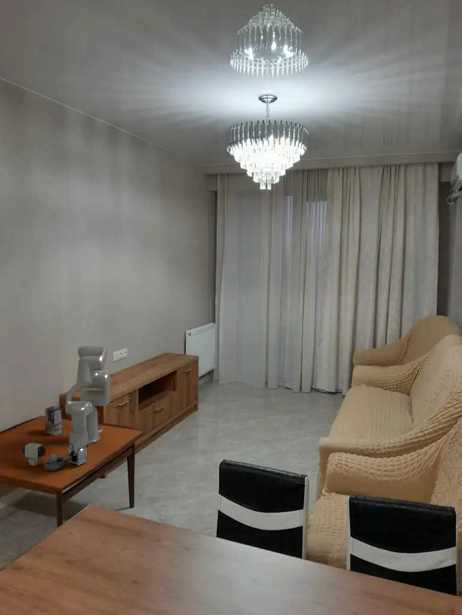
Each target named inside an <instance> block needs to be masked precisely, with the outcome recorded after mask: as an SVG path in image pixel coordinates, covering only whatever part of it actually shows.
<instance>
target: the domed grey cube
mask: <svg viewBox="0 0 462 615" xmlns="http://www.w3.org/2000/svg"><path fill="white" fill-rule="evenodd" d="M87 449H88V448H87ZM87 449H85V448H84V447H83V448H80V449H78V450H77V452H76V455H77V462H73V461H72V455H71V461H70V463H71V464H74V465H77V466H80V465H82V464H84V463H86V462H87V461H88V450H87ZM73 453H74V451H73Z"/></svg>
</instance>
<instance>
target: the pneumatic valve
mask: <svg viewBox="0 0 462 615" xmlns="http://www.w3.org/2000/svg"><path fill="white" fill-rule="evenodd" d="M21 452H22V454H23V457H24V458H28V465H29V466H36V465H39V464H40V459H41V458H42V457H44V456H45V455H46V453H47V450H46V447H45V445H44V444H43V443H39V442H38V443H37V442H36V443H35V442H28V443H27V444H25V445H23V447H22V448H21Z"/></svg>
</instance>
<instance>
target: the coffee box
mask: <svg viewBox="0 0 462 615" xmlns="http://www.w3.org/2000/svg"><path fill="white" fill-rule="evenodd" d="M46 433H47V434H48V433H49V435H50V436H51V435H52V436H57V435H58V436H59V435H61V434H63V408H62V407H58V406H54V405H53V406H50V407H46V408H45V434H46Z"/></svg>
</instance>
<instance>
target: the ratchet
mask: <svg viewBox="0 0 462 615" xmlns="http://www.w3.org/2000/svg"><path fill="white" fill-rule="evenodd" d="M68 463H71V454H70V453H68V455H66V456H64V457H63V456H59V457H58V454H55V453H53V454H50V456H49V459H47V460H46V461H45V462H44V470H45V471H46V472H52V473H53V472H56V471H60V470H61V469H63V466H64V465H65V464H66V465H67V464H68Z"/></svg>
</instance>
